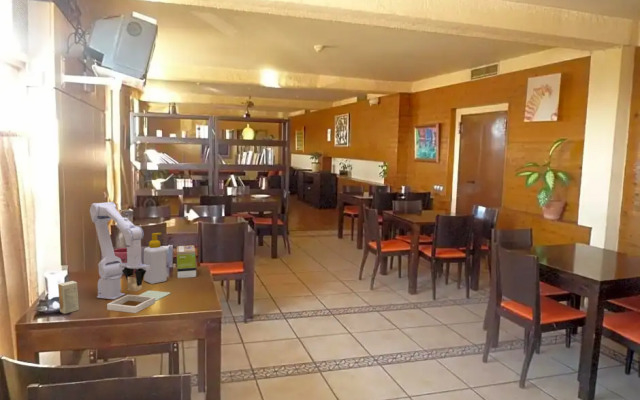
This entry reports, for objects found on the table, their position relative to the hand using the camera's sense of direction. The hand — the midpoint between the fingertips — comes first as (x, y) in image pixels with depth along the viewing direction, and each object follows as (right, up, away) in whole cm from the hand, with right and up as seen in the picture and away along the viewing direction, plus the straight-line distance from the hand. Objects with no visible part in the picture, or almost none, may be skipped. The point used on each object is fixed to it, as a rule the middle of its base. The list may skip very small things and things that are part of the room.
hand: (134, 284), depth 207 cm
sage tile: (+3, -8, +13) cm, 15 cm away
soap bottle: (-4, -5, +37) cm, 38 cm away
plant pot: (-26, -3, +53) cm, 59 cm away
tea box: (+8, -4, +52) cm, 53 cm away
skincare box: (-24, -10, -9) cm, 28 cm away
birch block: (0, -2, 0) cm, 2 cm away
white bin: (-1, -9, -1) cm, 9 cm away
